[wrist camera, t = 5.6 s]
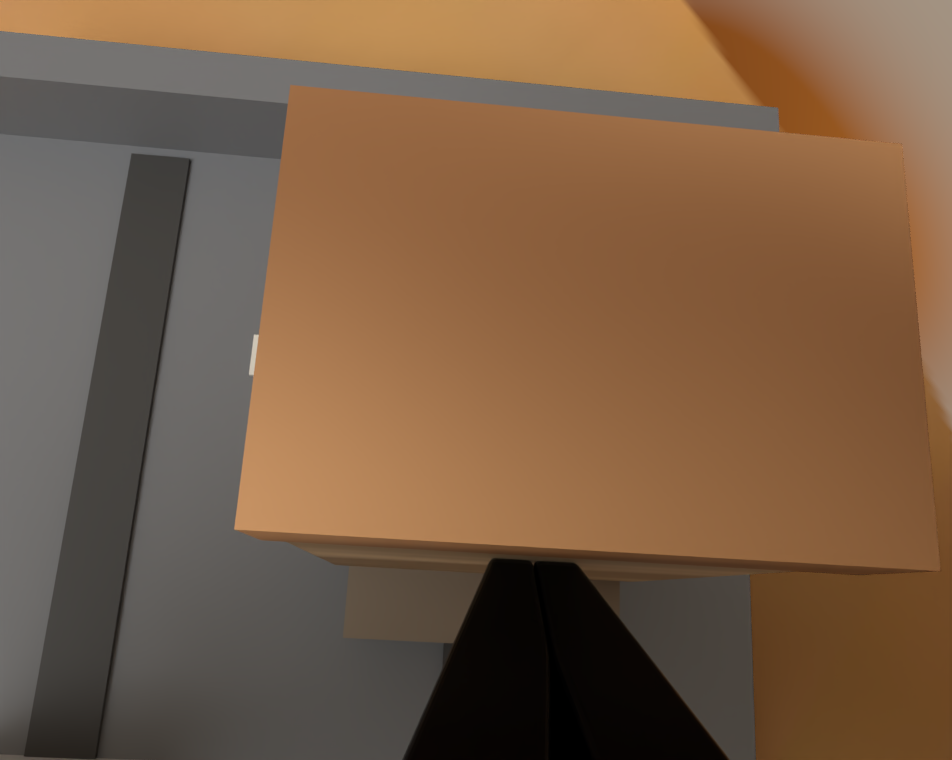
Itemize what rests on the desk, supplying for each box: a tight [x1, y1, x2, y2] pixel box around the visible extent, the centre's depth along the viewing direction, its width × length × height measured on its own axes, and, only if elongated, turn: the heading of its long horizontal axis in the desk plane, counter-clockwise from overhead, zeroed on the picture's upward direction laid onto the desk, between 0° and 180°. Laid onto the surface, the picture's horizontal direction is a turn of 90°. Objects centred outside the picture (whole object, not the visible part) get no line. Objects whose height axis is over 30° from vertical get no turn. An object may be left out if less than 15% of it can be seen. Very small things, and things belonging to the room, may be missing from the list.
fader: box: [234, 85, 941, 643], centre depth 9 cm, size 5×4×8 cm
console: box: [0, 31, 779, 760], centre depth 13 cm, size 18×14×4 cm
